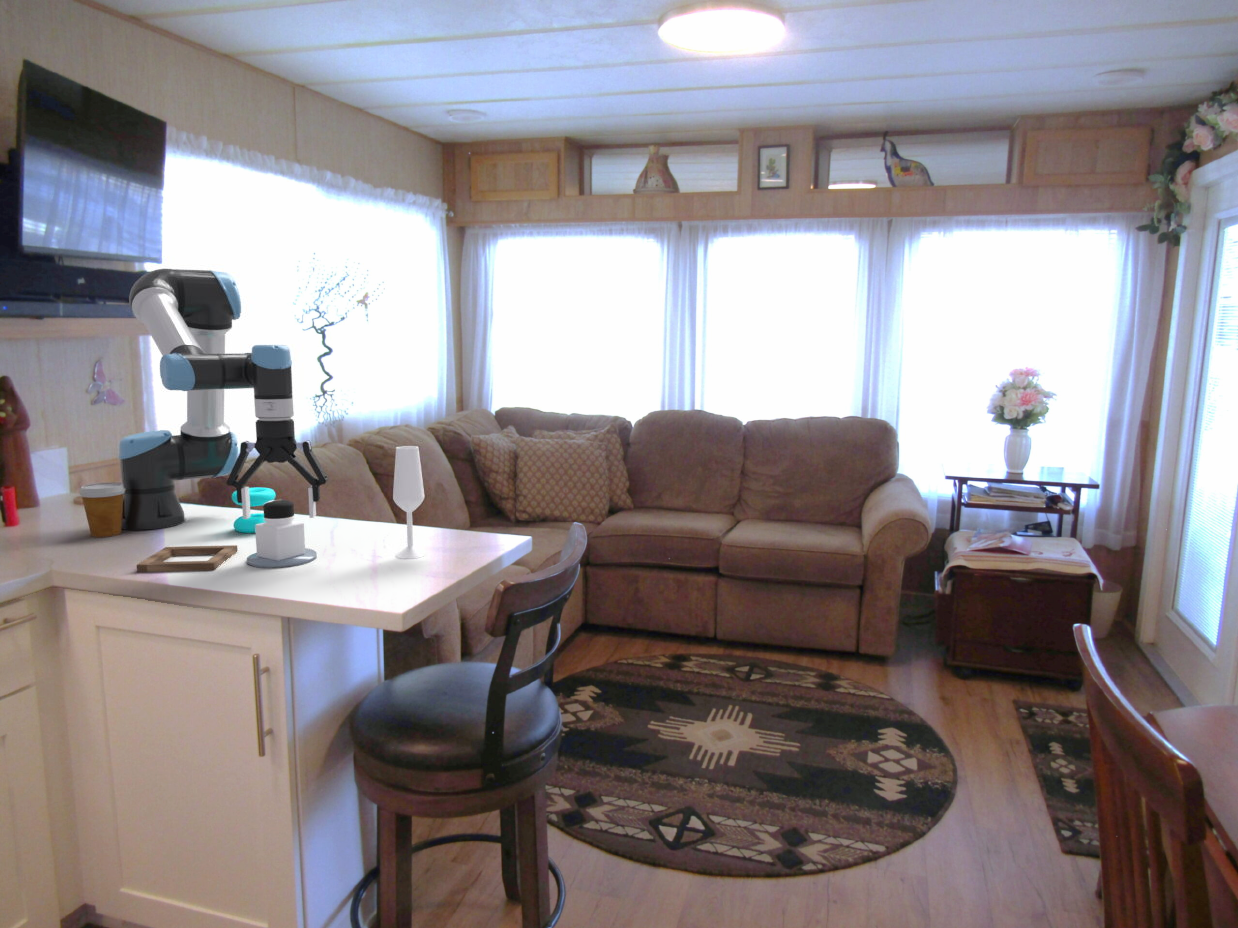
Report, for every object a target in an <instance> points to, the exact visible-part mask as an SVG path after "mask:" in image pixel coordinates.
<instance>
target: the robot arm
mask: <svg viewBox="0 0 1238 928" xmlns="http://www.w3.org/2000/svg"><path fill="white" fill-rule="evenodd" d="M128 300H129V302H128V303H129V307H130V310H131V313H133V315H134V317H135V318H136V319H137V320H138V321H139V322H140V323H141V324H144V325H145V327H146V329H147V331H148V332H149V334H150V336H151V337H152V340H153V341H154V343H155V345H156V346H157V348H158V350H159V352H160V354H161V358H160V361H159V374H160V375H159V376H160V379H161V384H162V386H163V387H164V388H165V389H166V390H169V391H182V392H186V421H185V422H184V423H183V424H182V425H181V426H180V429H179V430H180V433H179V434H176V435H175V434H174V435H172V432H171V431H170V430H167V429H163V430H162V429H161V430H151V431H145V432H139V433H134V434H131V435H127V436H124V437H123V438H121V440H120V441H119V444H118V447H119V448H118V452H119V453H118V459H119V462H120V463H119V465H120V475H121V483H122V484H123V487H124V488H125V489H126V490H125V493H124V495H123V512H122V529H121V530H129V531H131V530H132V531H133V530H136V531H137V530H138V531H139V530H141V531H143V530H153V529H162V528H168V527H174V526H177V525H180V524H182V523H184V522H186V521H185V520H186V519H185V511H184V509H183V507H182V505H181V503H180V500H179V498H178V496H177V495H178V494H176V489H175V486H176V485H175V481H185V480H195V479H197V480H198V479H206V478H207V479H209V478H211V479H212V478H213V479H214V478H217V477H223V476H227V475H229V476H228V477H227V480H226V482H225V483H226V485H227V486H231V487H234V488H235V489H236V490H235V491H237V501H238V503H242V506H241V507H242V508H241V509H242V516H243V519H248V518H249V517H250V516H251V514H252V513H251V506H250V497H249V488H250V486H246V485H247V483H248V482H249V481H250V480H251V478H252V477H253V476H254V475H255V474H256V472H258V470H259V469H260V467H262V465H263V464H264V463H266V462H267V464H274V463H280V464H284V463H286V462H288V463H289V465H291V466H292V467H293V468H294V469H295V470H296V471H297V472H298V473H299V474H300V475H301V476H302V477H303V479H304V480H305V481H307V482H308V484H309V485H310V486H309V487H308V489H307V490H308V511H309V513H308V514H309V519H314V518H315V517H316V516H317V509H316V508H317V505H316V504H317V503H316V502H319V501H320V500H321V486H323V485H326V484H327V483H328V482H329V477H328V476H327V474H326V473H325V471H324V469H323V467H322V465H321V463H320V462H319V460H318V458H317V456H316V455H315V453H314V451H313V447H312V443H311V441H310V440H305V441H298V442H297V440H296V439H295V438H296V435H295V420H294V419H293V417H294V416H295V414H294V398H293V374H292V363H293V362H292V358H291V350H290V347H288V345H285V344H255V345H253V346H252V348H251V352H243V353H226V334H227V332H229V331H230V330H231V329H232V328H233V321H236V320H238V319H240V317H241V314H242V302H241V296H240V292H239V288H238V285H237V283H236V281H235V279H234V278H233V277H232V276H231V275H230V274H229V273H227V272H223V271H222V272H221V271H216V270H208V269H207V270H203V269H179V268H178V269H177V268H176V269H172V268H160V269H154V270H151V271H148V272H147V273H145V274H143V275H141V276H140V278H138V280H136V281H135V282H134V284H133V286H132V287H131V289H130V292H129V296H128ZM235 389H236V390H237V389H240V390H241V389H253V401H254V415H255V418H257V419H256V421H255V434H256V435H255V436H256V439H255V440H256V441H255V442H250V441H248V440H245V441H242V442H240V449H239V447H238V438H237V436H236V434H235V433H234V432H232V431H231V428H230V426H229V425H228V424H226V422H225V415H224V414H225V390H235ZM254 449H255V451H256V452H257V453H258V457H257V458H256V459H255V460H254V462H252V465H250V467H249V468H248V469H247V470H246V472H245V473H244V474H243V475H241V476H242V477H241V478H240V479H239V476H240V474H241V472H242V469H243V468H244V465H245V463H246V461H247V459H248V458H249V457H248V456H249V455H250V453H251V452H252V451H253V450H254ZM297 449H299V450H300V452H302V453H303V455H304V457H305V458H306V460H307V462H308V463H309V465H310V467H311V469H312V470H313V472H314V474H315V475H314V474H313V473H312V472H311V471H310V470H309V468H307V466H306V465H305V464H304V463H303V462H302V461H301V460H300V459H299V456H297V455H296V454H295V452H296V451H297ZM239 450H240V451H239Z"/></svg>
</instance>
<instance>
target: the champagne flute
mask: <svg viewBox="0 0 1238 928" xmlns="http://www.w3.org/2000/svg"><path fill="white" fill-rule="evenodd" d="M394 457H395V461H394V475H393V476H394V477H393V493H392V499H393V502H394V503H395V504H396V506H397V507H399V508H400V509H401V510H402V511H403V512H406V536H407V539H406V540H407V541H406V543H407V546H406V547H405V548H403V549H402V550H400V551H399V552H397V553H396V554H394V556H395V557H396V558H397V559H403V560H409V559H410V560H413V559H419V558H422V557H425V556H426V555H427V554H426V552H424V551H423V550H421V549H419V548H417V547H416V546H414V534H413V512H415V510H417V508H419V507H420V506H421V505H422V503H423V501H424V500H425V491H424V481H423V474H422V464H421V456H420V450H419V446H416V445H415V446H414V445H403V446H396V447H395V456H394Z"/></svg>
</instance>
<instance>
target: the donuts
mask: <svg viewBox="0 0 1238 928" xmlns="http://www.w3.org/2000/svg"><path fill="white" fill-rule="evenodd" d="M249 497H250V507H260V506H263V505H264V504H265V503H266V502H268V501H272V500H276V497H277V496H276V492H275V490H274V489H272V488H270V487H269V488H268V487H257V486H256V487H249ZM231 500H232V501H233V503H234V504H236V505H237V506H241V507H242V503H238V501H237V490H235V491H233V493H232V494H231ZM250 514H251V516H250V517H249V518H248V519H243V515H240V516H239V517H237V518H236V519H235V520H234V522H233V529H234V530H235V531H237V532H239V533H242V534H243V533H244V534H256V533H255V525H256V524H260V523H265V522H266V521H264V512H263V513H261V512H260V513H259V512H258V513H250Z"/></svg>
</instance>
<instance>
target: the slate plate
mask: <svg viewBox="0 0 1238 928" xmlns="http://www.w3.org/2000/svg"><path fill="white" fill-rule="evenodd" d="M317 555H318V554H317V551H316V550H314V549H311V548H307V547H305V554H303V555H299V556H296V557H292V558H288V559H284V560H280V561H276V560H271V559H266V558H261V557H258V556H257V552H255V553H252V554H249V555H248V556H247V557H246V563H248V564H249V566H250V565H252V566H251V567H254V566H256V567H255V568H260V567H281V568H288V567H287V566H290V567H295V566H294V565H297V566H301V565H304V563H305V564H308V563H310V561H311V562H313V561H315V560H316V559H317ZM307 562H308V563H307ZM248 564H247V565H248ZM300 564H301V565H300Z"/></svg>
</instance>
